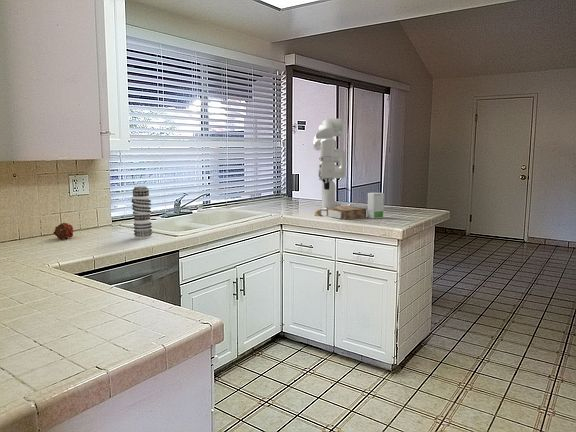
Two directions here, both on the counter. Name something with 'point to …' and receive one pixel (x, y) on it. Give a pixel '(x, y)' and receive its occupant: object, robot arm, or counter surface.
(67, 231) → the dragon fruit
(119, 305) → the counter surface
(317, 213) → the stand
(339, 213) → the tray
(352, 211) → the housing
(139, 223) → the decorative candle
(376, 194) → the skincare box
